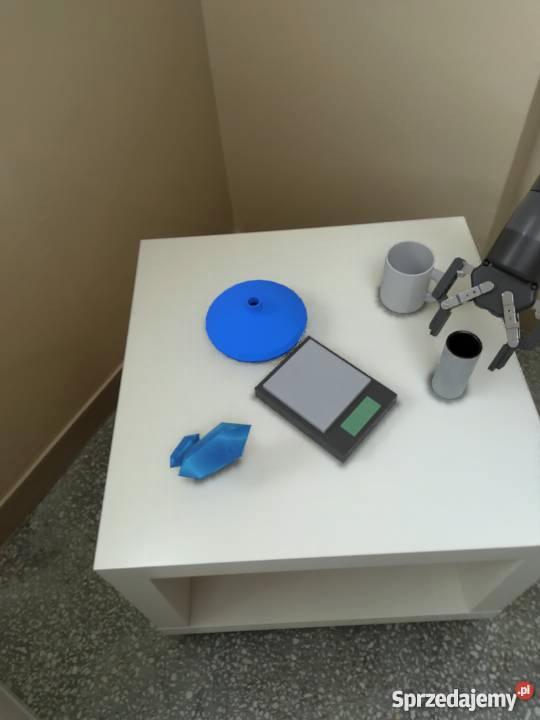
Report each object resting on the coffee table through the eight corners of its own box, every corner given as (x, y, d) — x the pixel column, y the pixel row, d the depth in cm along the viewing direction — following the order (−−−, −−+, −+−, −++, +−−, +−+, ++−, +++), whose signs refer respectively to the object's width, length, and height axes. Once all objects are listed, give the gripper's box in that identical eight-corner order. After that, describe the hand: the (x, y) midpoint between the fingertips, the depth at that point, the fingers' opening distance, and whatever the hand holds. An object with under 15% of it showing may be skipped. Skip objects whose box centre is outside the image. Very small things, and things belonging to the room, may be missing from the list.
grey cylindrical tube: (430, 371, 77) (445, 328, 69) (463, 373, 77) (481, 331, 68) (431, 398, 75) (446, 357, 66) (465, 400, 74) (484, 360, 66)
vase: (326, 345, 81) (326, 317, 75) (232, 388, 78) (225, 362, 72) (279, 279, 89) (277, 248, 84) (193, 315, 86) (184, 286, 81)
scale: (395, 402, 75) (398, 391, 72) (343, 463, 70) (344, 453, 68) (308, 344, 82) (308, 331, 79) (255, 396, 77) (253, 384, 74)
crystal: (148, 443, 66) (227, 389, 67) (177, 462, 74) (247, 413, 74) (172, 492, 63) (255, 434, 63) (200, 507, 70) (274, 455, 71)
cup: (389, 275, 88) (396, 235, 81) (448, 294, 85) (461, 254, 78) (372, 305, 85) (378, 266, 77) (433, 326, 82) (445, 288, 74)
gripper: (475, 208, 64) (406, 325, 69) (592, 262, 58) (507, 385, 63) (486, 218, 70) (422, 324, 75) (592, 268, 64) (515, 379, 70)
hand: (461, 352), depth 69 cm, fingers open, 8 cm apart
